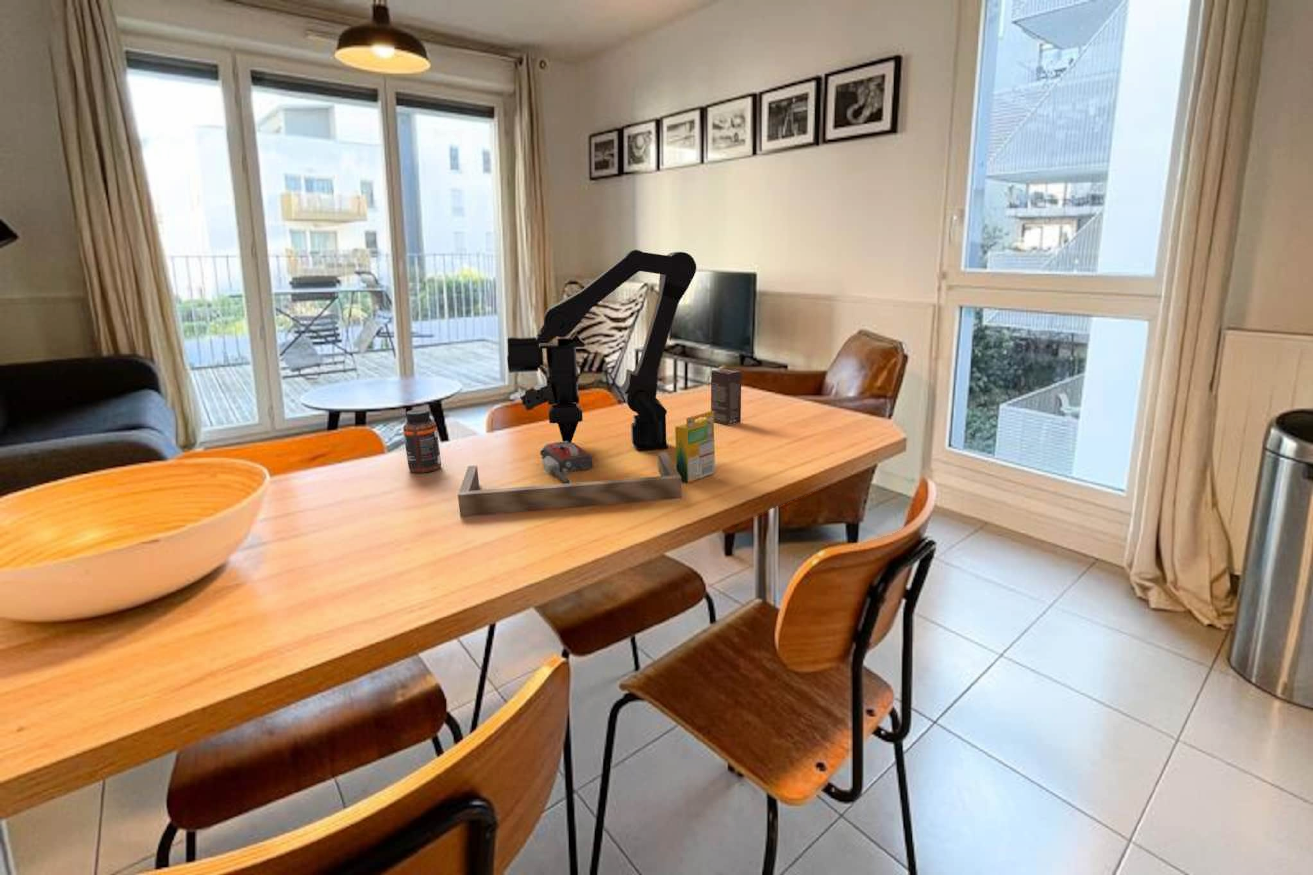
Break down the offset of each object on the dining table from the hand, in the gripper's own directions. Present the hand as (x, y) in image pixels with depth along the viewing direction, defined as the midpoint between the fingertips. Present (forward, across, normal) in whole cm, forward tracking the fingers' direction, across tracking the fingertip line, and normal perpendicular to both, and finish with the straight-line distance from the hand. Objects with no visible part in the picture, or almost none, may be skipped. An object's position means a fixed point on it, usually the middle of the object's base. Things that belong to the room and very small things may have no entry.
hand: (567, 446), depth 135 cm
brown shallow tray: (+1, +23, 0) cm, 23 cm away
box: (+1, -15, +37) cm, 40 cm away
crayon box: (+1, +21, +22) cm, 31 cm away
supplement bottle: (+1, +5, -27) cm, 27 cm away
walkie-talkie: (+2, +11, 0) cm, 11 cm away
